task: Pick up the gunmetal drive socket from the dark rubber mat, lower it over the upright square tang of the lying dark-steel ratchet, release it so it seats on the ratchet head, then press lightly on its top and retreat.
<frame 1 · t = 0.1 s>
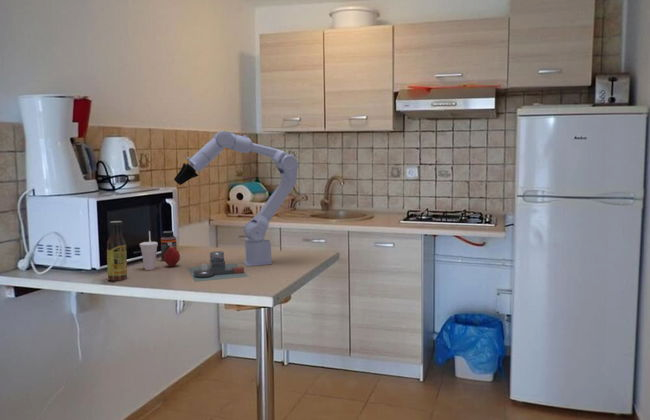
hand: (176, 182, 202), 32 cm above the counter, tool tilted 50°, fingers open, 7 cm apart
smoothie: (150, 269, 208), on the counter
ratchet: (204, 275, 196), resting on mat
sauce bottle: (118, 279, 193), on the counter
onion: (172, 267, 211), on the counter
socket: (217, 268, 206), resting on mat
mat: (216, 272, 201), on the counter
supplement bottle: (169, 260, 223), on the counter
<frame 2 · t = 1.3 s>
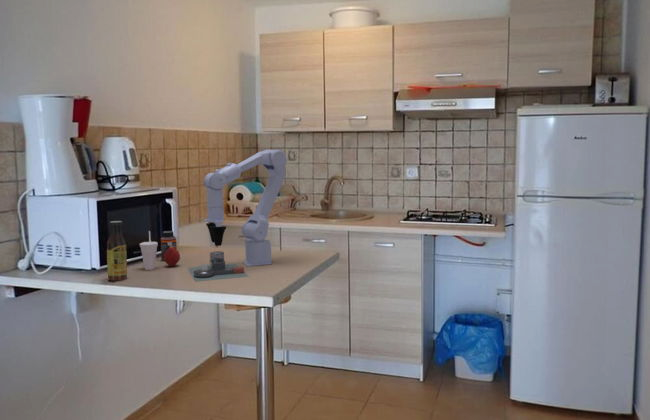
hand: (216, 243, 205), 9 cm above the counter, tool pointing down, fingers open, 7 cm apart
nothing on the counter moved.
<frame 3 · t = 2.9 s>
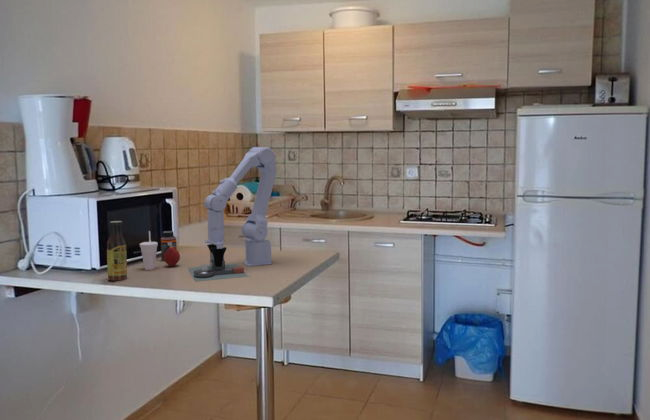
hand: (217, 265, 206), 2 cm above the counter, tool pointing down, fingers closed on socket, 5 cm apart
socket: (217, 268, 206), resting on mat, touching gripper
everything else where it was.
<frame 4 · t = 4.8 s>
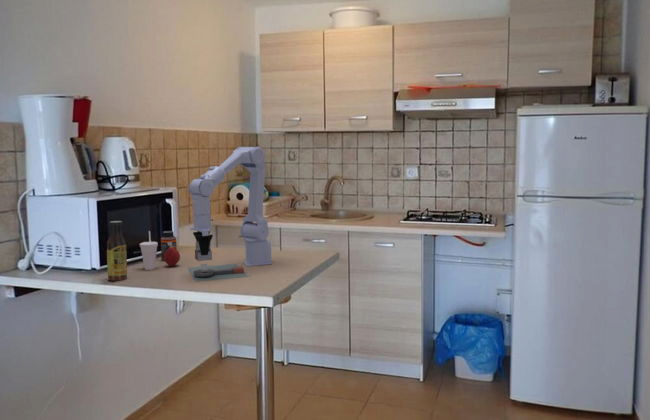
hand: (203, 253, 195), 8 cm above the counter, tool pointing down, fingers closed on socket, 5 cm apart
socket: (203, 259, 195), point 6 cm above the counter, touching gripper
everything else where it was.
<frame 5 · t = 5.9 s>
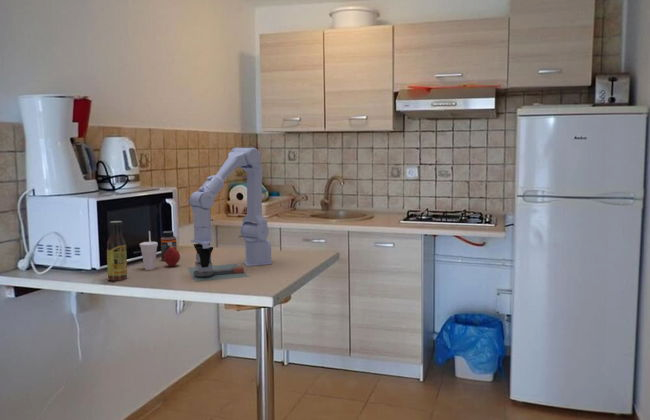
hand: (203, 265, 195), 4 cm above the counter, tool pointing down, fingers closed on socket, 5 cm apart
socket: (204, 271, 195), point 2 cm above the counter, touching gripper
everything else where it was.
when the fingers open (4 cm above the counter, at t = 6.6 s): socket stays where it is, resting on ratchet.
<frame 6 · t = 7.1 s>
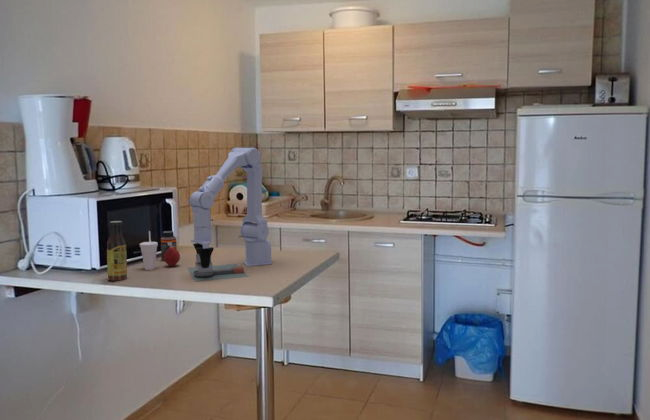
hand: (203, 265, 195), 4 cm above the counter, tool pointing down, fingers open, 7 cm apart
ratchet: (204, 275, 196), resting on mat, touching socket
socket: (204, 271, 195), point 2 cm above the counter, touching ratchet
everything else where it was.
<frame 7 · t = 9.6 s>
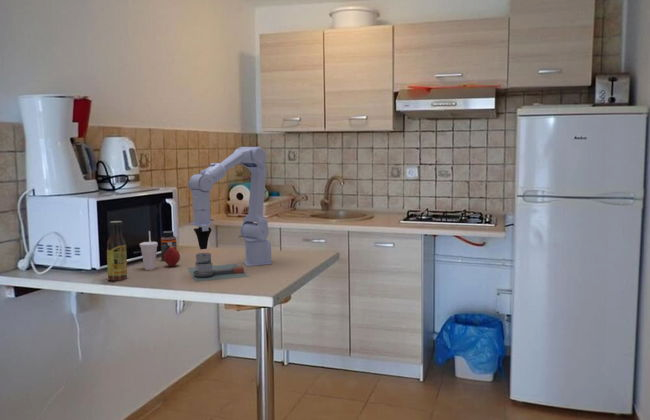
hand: (203, 248, 194), 10 cm above the counter, tool pointing down, fingers closed
nothing on the counter moved.
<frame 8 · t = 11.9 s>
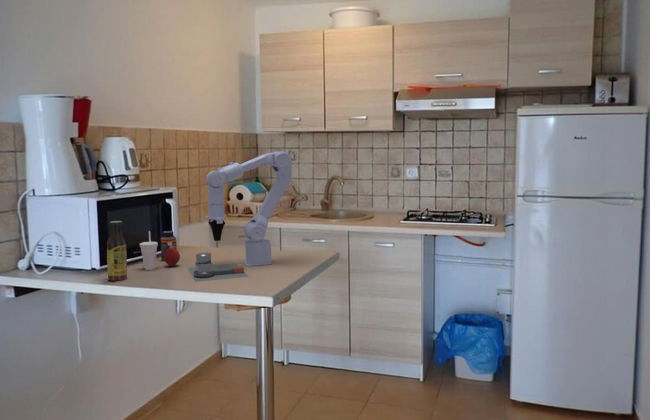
hand: (217, 240, 209), 10 cm above the counter, tool pointing down, fingers closed
nothing on the counter moved.
at the end: socket 0.0 cm off-centre on the ratchet, point 1.6 cm above the ratchet's base; socket tilted 0°; the gripper is holding nothing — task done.
